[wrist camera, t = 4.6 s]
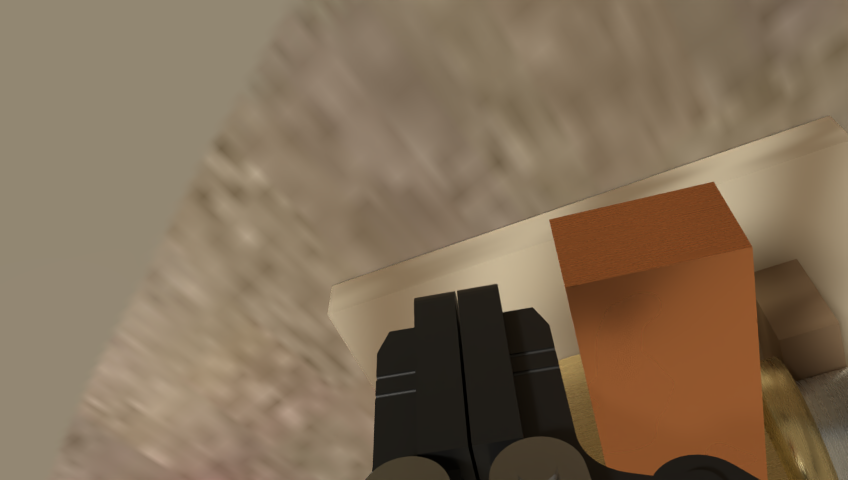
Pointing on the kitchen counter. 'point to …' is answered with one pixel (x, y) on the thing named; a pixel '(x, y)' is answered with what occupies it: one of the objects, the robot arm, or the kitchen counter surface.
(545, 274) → the board
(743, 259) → the lever
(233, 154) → the kitchen counter surface
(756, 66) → the kitchen counter surface
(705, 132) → the kitchen counter surface
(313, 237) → the kitchen counter surface
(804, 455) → the ball valve
